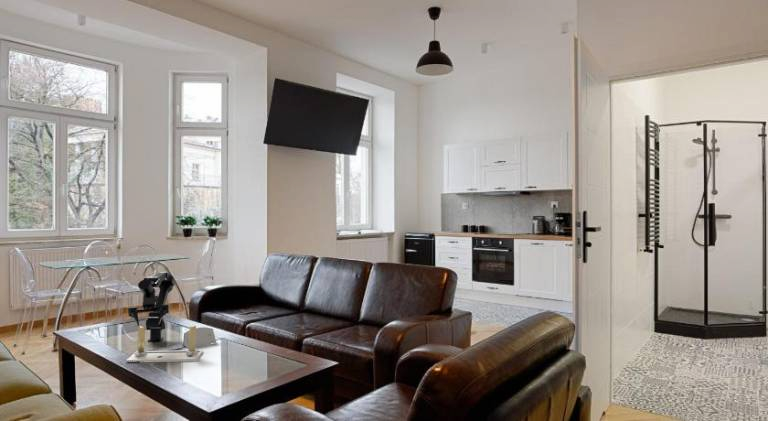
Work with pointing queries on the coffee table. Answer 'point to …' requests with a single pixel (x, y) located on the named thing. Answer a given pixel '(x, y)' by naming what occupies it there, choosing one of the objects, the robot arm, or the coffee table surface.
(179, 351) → the plate
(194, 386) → the coffee table surface
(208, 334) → the grey blocky piece
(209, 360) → the coffee table surface
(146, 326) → the robot arm
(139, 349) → the leg
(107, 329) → the coffee table surface
